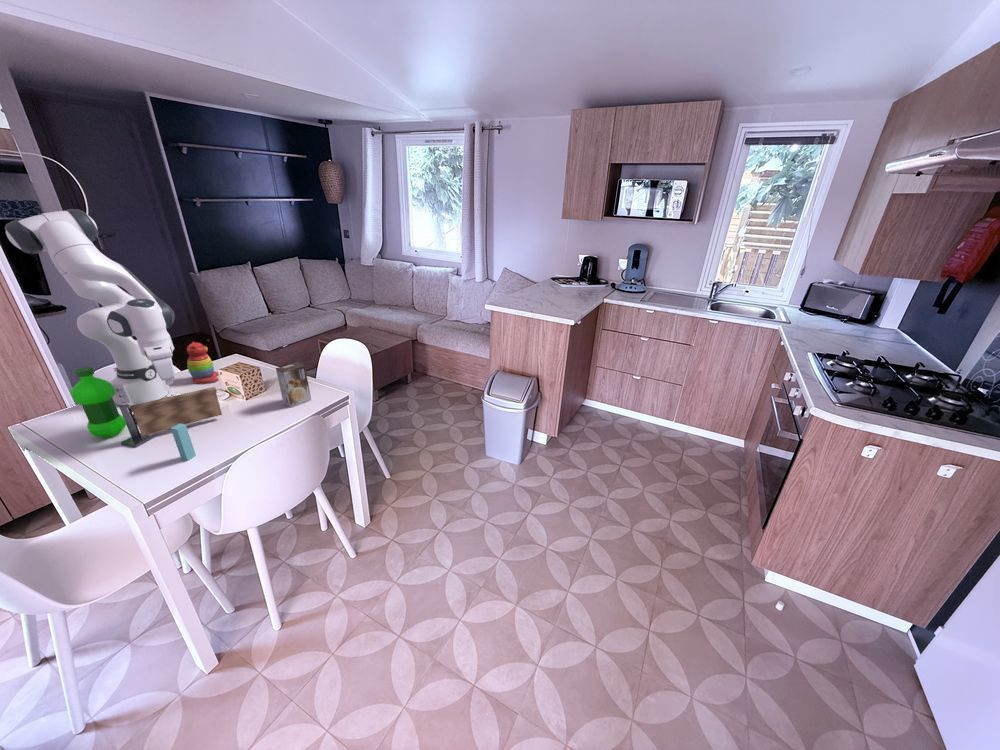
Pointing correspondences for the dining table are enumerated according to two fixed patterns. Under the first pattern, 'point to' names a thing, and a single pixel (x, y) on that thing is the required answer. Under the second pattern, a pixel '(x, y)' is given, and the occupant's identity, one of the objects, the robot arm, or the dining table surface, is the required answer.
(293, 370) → the coffee box
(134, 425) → the hinge post
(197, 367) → the stacking bear
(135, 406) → the gate
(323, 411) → the dining table surface
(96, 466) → the dining table surface
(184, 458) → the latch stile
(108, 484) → the dining table surface
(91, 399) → the plastic bottle
